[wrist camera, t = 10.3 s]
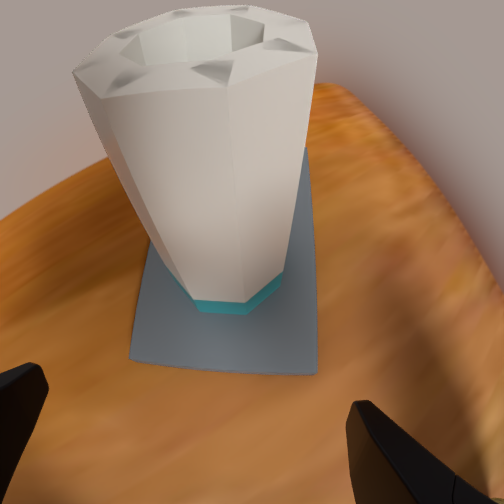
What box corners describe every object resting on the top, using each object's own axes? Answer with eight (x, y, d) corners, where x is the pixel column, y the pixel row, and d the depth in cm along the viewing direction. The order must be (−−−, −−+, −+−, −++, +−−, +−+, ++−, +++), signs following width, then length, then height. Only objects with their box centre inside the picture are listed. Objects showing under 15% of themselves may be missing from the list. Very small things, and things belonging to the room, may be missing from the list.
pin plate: (313, 375, 16) (331, 365, 12) (136, 361, 16) (104, 347, 12) (305, 158, 23) (311, 116, 20) (179, 155, 24) (170, 115, 20)
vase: (302, 266, 18) (359, 42, 6) (220, 336, 16) (137, 133, 4) (234, 203, 20) (217, -2, 8) (157, 259, 18) (59, 60, 6)
